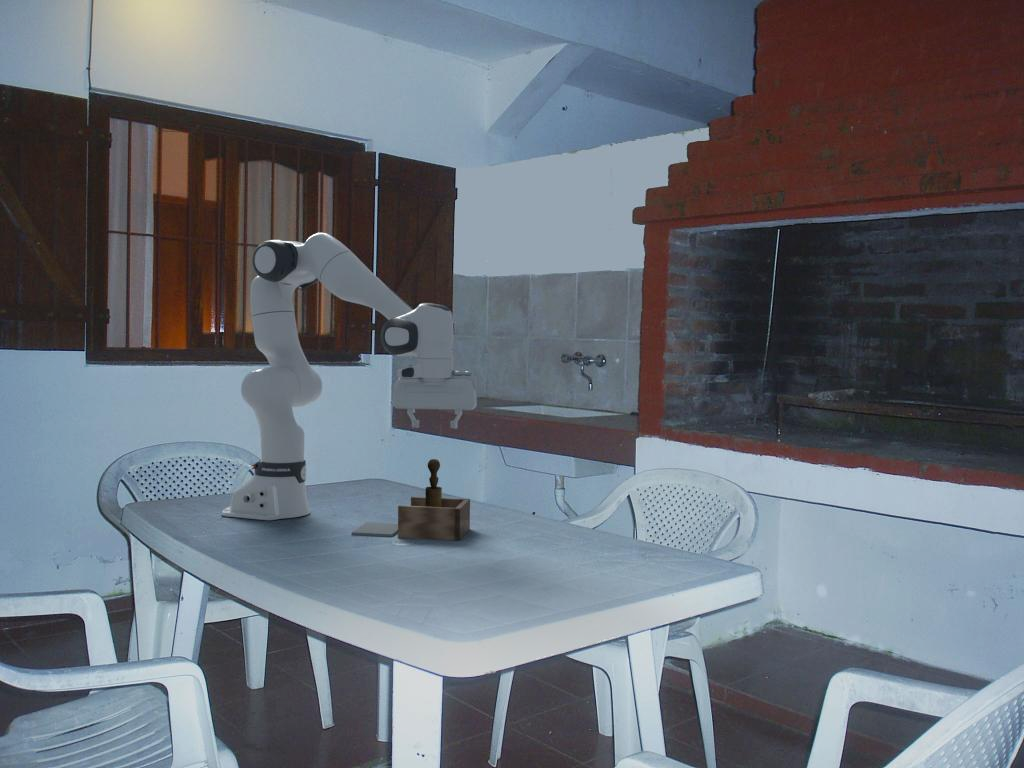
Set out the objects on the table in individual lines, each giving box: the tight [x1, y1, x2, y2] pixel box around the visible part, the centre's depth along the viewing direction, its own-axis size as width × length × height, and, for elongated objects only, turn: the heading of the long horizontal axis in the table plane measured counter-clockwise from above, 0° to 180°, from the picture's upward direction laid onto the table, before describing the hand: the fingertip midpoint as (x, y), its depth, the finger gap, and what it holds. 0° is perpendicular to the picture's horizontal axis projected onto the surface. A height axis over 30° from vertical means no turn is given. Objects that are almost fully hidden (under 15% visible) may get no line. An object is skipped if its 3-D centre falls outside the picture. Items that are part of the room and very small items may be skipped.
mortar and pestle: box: [425, 458, 443, 507], centre depth 214 cm, size 7×6×18 cm
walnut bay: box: [397, 496, 471, 541], centre depth 214 cm, size 15×13×8 cm
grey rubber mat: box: [351, 521, 398, 538], centre depth 216 cm, size 10×12×1 cm
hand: (434, 428), depth 213 cm, fingers open, 8 cm apart
